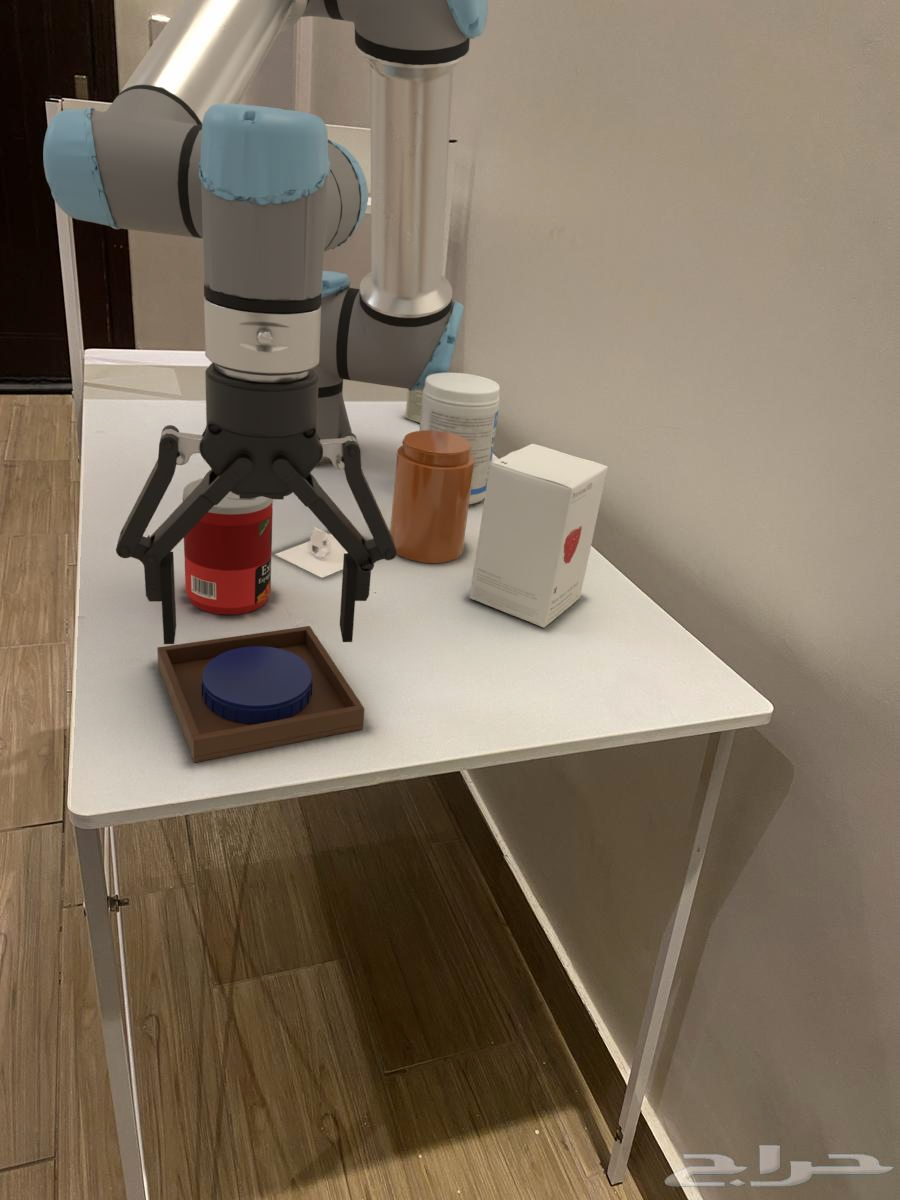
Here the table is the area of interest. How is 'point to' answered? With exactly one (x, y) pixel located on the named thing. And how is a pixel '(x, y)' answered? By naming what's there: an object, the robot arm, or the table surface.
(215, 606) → the canned food
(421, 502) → the jar
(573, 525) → the rectangular carton
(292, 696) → the lid
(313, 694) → the tray
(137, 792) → the table surface
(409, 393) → the cosmetics bottle
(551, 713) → the table surface
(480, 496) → the supplement tub
